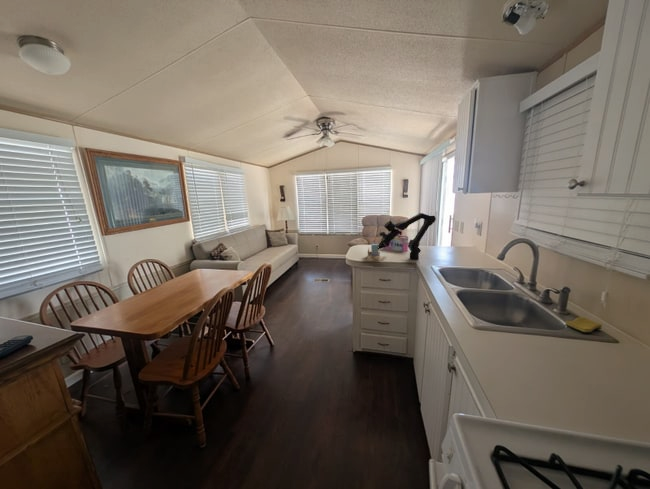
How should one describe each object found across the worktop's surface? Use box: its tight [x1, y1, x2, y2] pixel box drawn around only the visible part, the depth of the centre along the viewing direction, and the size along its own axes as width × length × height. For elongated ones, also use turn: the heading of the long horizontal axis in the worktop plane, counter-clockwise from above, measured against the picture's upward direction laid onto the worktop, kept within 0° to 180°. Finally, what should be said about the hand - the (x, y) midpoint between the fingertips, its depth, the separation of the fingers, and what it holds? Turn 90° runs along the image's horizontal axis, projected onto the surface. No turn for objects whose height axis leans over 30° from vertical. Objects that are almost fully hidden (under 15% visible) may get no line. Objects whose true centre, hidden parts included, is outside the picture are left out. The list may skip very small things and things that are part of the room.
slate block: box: [370, 243, 379, 256], centre depth 204 cm, size 6×6×12 cm
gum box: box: [383, 234, 409, 252], centre depth 237 cm, size 24×8×14 cm, turn 41°
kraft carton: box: [367, 247, 388, 262], centre depth 204 cm, size 16×15×8 cm
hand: (378, 247), depth 203 cm, fingers open, 9 cm apart
